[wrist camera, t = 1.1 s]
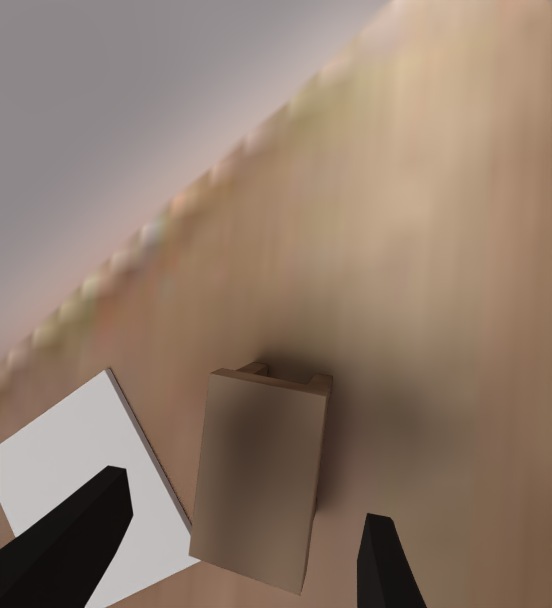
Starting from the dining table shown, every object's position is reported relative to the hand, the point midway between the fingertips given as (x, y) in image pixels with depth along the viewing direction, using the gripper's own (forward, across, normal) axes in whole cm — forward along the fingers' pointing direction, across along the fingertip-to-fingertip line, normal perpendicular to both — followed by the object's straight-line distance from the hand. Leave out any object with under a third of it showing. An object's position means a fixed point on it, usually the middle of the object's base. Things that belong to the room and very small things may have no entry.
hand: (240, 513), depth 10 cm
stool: (+10, 0, +6) cm, 11 cm away
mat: (+9, +14, +14) cm, 22 cm away
